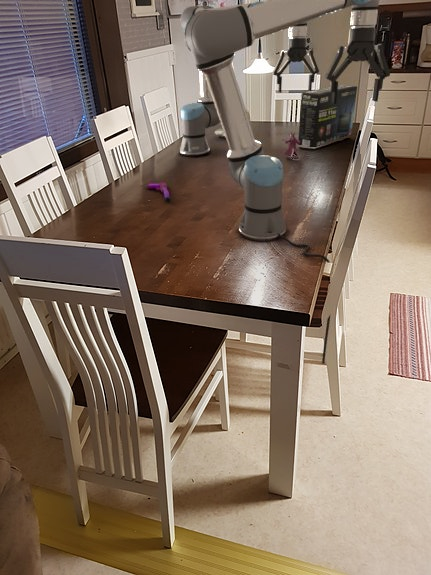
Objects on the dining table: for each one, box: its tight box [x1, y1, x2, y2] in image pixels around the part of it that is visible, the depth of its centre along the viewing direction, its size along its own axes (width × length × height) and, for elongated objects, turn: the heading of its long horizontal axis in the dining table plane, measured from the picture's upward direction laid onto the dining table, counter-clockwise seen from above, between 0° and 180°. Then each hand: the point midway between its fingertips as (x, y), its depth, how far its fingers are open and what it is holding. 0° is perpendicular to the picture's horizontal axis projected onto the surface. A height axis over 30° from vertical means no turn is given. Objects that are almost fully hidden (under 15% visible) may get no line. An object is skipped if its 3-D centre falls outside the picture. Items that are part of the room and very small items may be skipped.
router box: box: [297, 84, 358, 151], centre depth 238 cm, size 36×11×27 cm, turn 134°
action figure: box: [281, 132, 301, 161], centre depth 219 cm, size 8×9×12 cm
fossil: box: [214, 128, 225, 138], centre depth 265 cm, size 18×11×15 cm
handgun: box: [147, 182, 171, 203], centre depth 184 cm, size 21×8×2 cm, turn 11°
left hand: (294, 91), depth 206 cm, fingers open, 13 cm apart
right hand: (354, 102), depth 149 cm, fingers open, 13 cm apart
